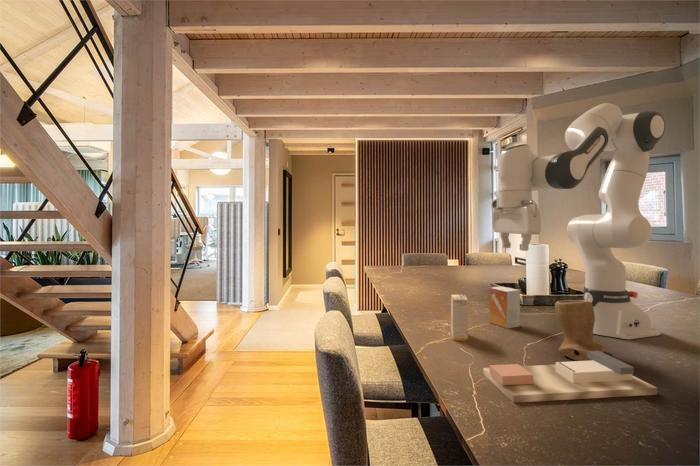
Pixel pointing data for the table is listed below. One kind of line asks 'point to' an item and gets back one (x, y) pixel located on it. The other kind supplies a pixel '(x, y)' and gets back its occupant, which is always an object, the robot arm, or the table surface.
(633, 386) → the holder board
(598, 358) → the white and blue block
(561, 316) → the brown suede boot
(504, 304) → the small box
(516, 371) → the pink flat block
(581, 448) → the table surface
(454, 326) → the supplement box
